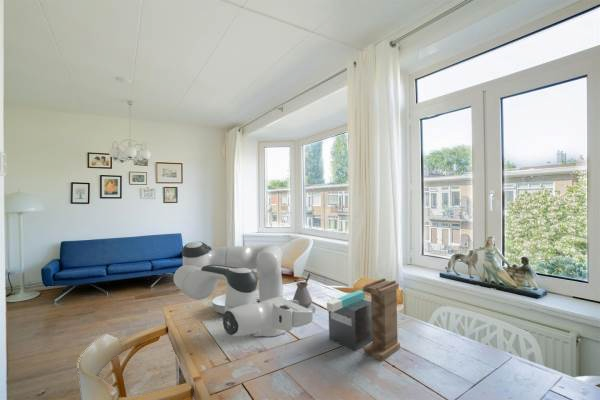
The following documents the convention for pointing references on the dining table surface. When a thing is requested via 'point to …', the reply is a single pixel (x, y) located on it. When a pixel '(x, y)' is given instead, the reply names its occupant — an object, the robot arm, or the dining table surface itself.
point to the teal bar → (345, 300)
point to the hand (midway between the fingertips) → (305, 305)
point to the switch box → (352, 325)
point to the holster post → (383, 318)
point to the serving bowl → (219, 303)
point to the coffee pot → (303, 294)
